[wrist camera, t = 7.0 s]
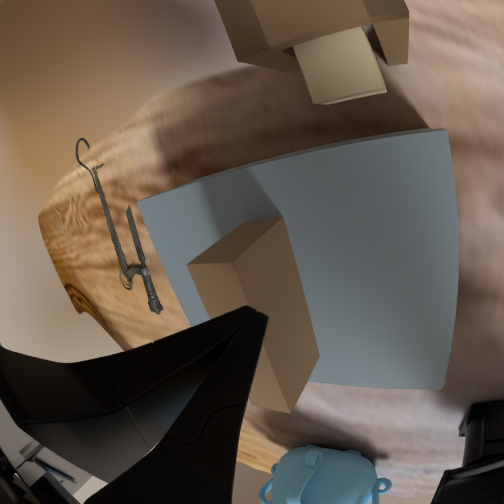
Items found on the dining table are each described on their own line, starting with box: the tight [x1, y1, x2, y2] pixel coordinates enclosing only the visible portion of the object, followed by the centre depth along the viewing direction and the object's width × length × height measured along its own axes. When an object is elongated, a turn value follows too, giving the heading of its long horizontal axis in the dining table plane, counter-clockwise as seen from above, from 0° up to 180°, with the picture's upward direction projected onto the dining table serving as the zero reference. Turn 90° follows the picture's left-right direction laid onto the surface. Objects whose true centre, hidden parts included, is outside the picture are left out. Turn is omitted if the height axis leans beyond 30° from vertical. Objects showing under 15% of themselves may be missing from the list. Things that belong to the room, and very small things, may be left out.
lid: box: [137, 128, 459, 414], centre depth 15 cm, size 14×18×7 cm
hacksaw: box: [76, 138, 163, 314], centre depth 33 cm, size 24×10×2 cm, turn 9°
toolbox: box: [183, 0, 433, 185], centre depth 16 cm, size 21×18×10 cm
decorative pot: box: [258, 445, 392, 504], centre depth 29 cm, size 16×16×14 cm
